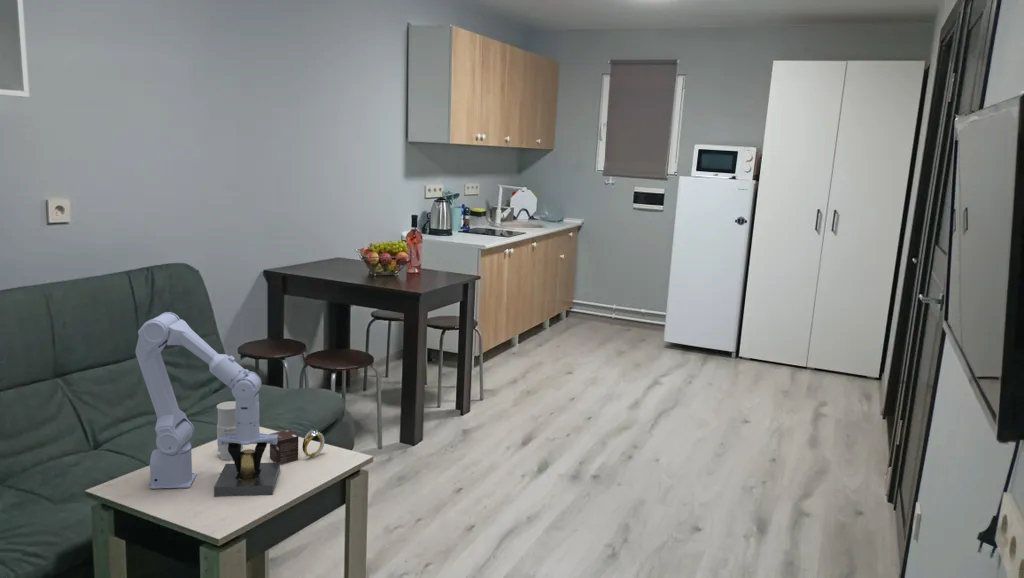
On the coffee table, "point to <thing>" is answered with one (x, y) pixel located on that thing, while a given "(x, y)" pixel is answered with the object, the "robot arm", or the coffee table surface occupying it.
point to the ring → (306, 442)
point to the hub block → (247, 481)
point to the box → (284, 447)
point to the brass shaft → (248, 464)
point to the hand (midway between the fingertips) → (248, 470)
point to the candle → (226, 426)
